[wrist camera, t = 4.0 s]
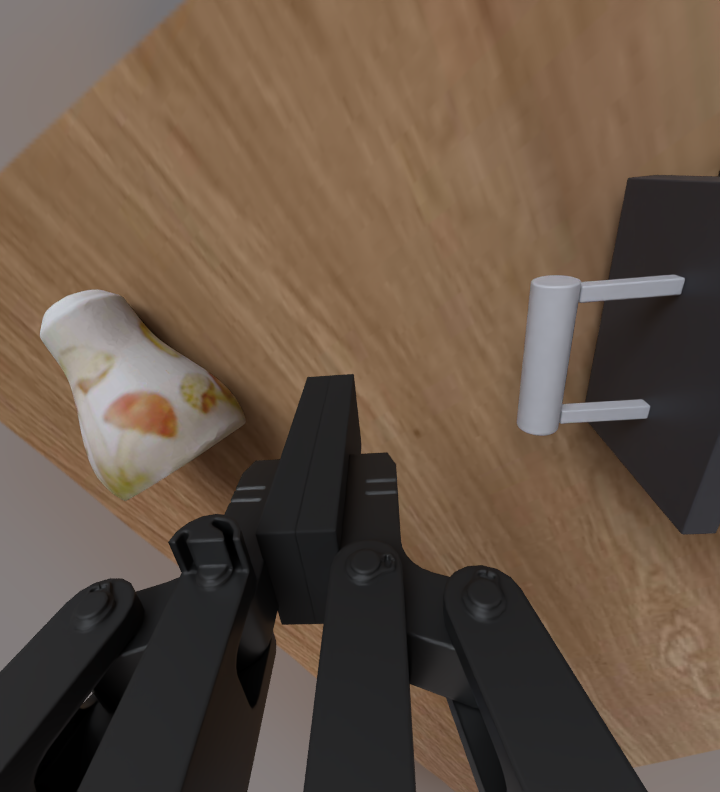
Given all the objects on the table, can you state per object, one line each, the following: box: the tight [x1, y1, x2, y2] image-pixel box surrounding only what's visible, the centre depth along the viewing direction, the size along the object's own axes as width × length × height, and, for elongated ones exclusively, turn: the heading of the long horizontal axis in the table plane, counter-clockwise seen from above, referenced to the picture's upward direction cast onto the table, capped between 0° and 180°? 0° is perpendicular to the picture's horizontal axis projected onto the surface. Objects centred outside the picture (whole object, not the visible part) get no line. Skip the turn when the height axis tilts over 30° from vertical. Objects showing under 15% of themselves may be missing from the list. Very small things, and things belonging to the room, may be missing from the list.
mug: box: [40, 290, 246, 501], centre depth 20 cm, size 8×10×10 cm
